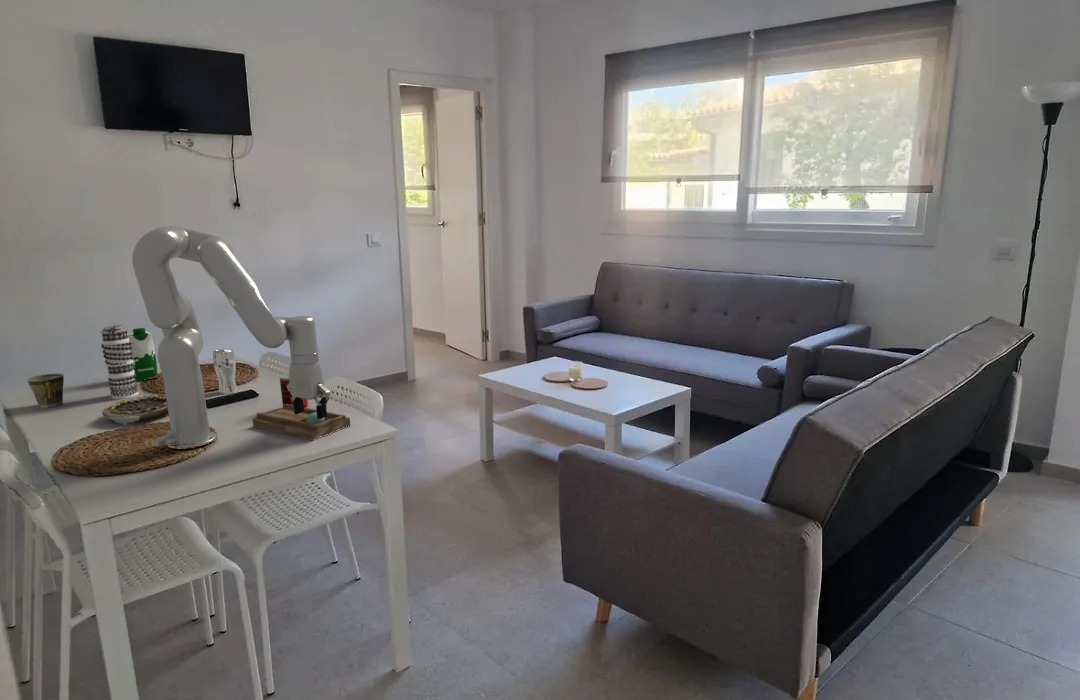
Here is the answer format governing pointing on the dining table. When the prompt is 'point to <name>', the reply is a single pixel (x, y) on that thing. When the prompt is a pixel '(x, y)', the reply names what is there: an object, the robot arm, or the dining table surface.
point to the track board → (299, 422)
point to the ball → (314, 419)
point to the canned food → (285, 393)
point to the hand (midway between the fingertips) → (310, 415)
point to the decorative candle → (119, 362)
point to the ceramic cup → (47, 389)
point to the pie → (138, 410)
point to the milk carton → (143, 354)
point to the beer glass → (225, 370)
